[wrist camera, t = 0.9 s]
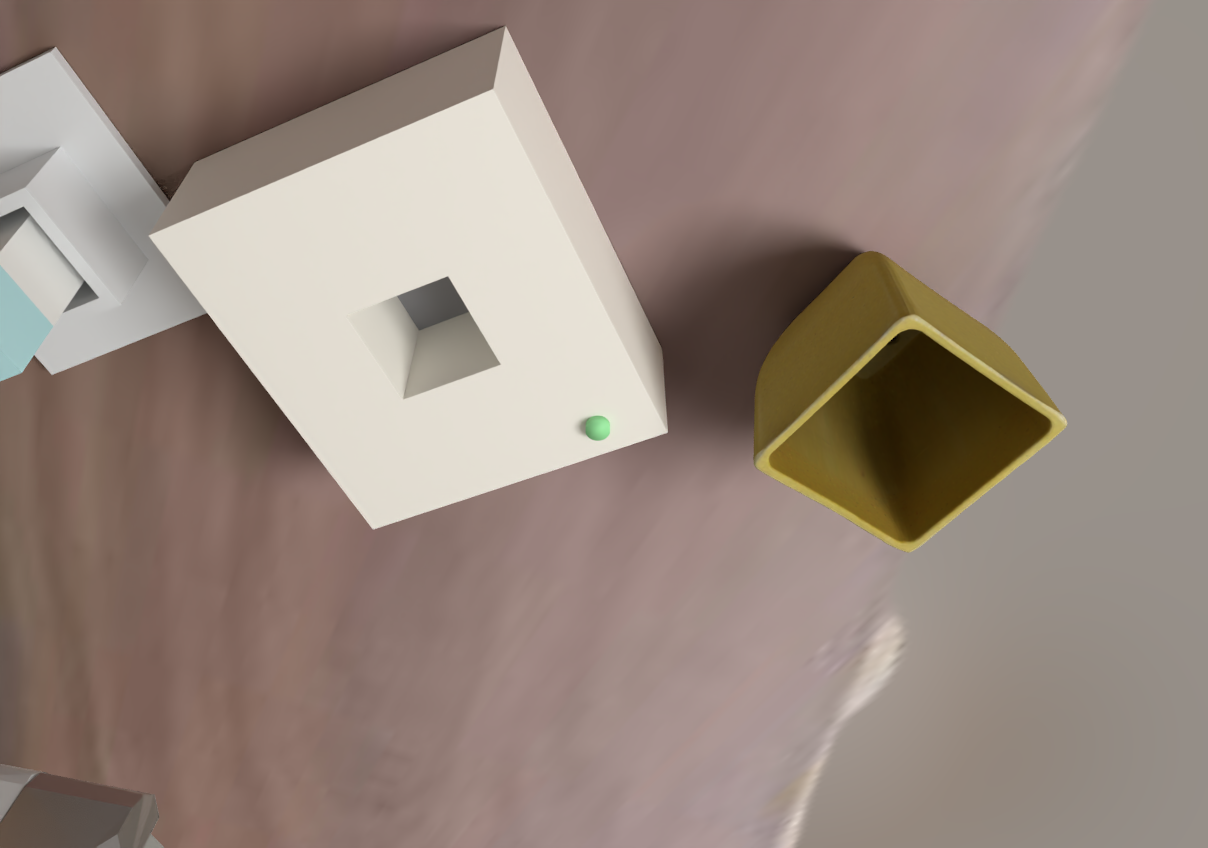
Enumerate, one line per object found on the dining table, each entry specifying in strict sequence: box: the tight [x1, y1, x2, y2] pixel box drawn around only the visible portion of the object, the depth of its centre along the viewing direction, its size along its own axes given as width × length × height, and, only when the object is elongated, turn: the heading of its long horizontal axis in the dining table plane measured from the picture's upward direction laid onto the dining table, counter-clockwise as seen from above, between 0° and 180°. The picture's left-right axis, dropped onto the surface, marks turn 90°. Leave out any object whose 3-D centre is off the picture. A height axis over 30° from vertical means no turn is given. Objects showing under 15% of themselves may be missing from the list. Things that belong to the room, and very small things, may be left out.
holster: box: [0, 47, 207, 375], centre depth 46 cm, size 12×10×4 cm
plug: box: [0, 206, 85, 381], centre depth 44 cm, size 3×3×9 cm
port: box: [148, 26, 668, 529], centre depth 47 cm, size 16×14×6 cm
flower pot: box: [754, 251, 1067, 552], centre depth 47 cm, size 9×9×9 cm
